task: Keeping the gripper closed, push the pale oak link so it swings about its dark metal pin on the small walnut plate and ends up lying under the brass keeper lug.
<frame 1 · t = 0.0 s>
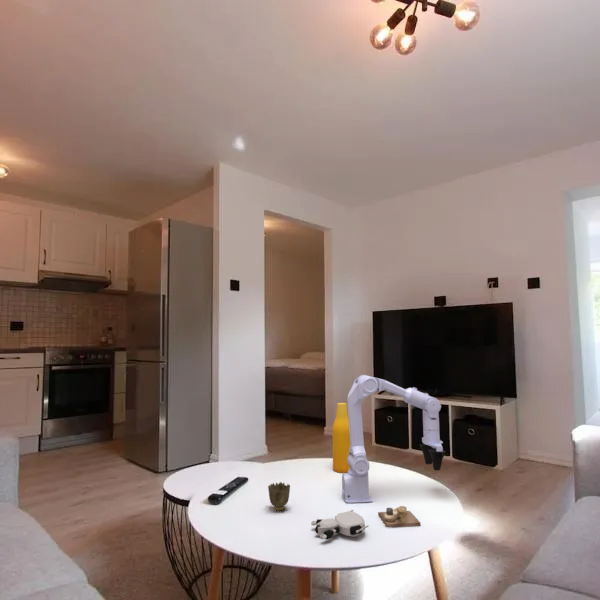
hand: (432, 467, 157), 10 cm above the table, tool pointing down, fingers open, 7 cm apart
robot toy: (339, 535, 125), on the table
link: (396, 513, 135), point 2 cm above the table, hinge at 40.0°
beer bottle: (343, 470, 188), on the table
cup: (279, 510, 144), on the table
board: (398, 520, 134), on the table
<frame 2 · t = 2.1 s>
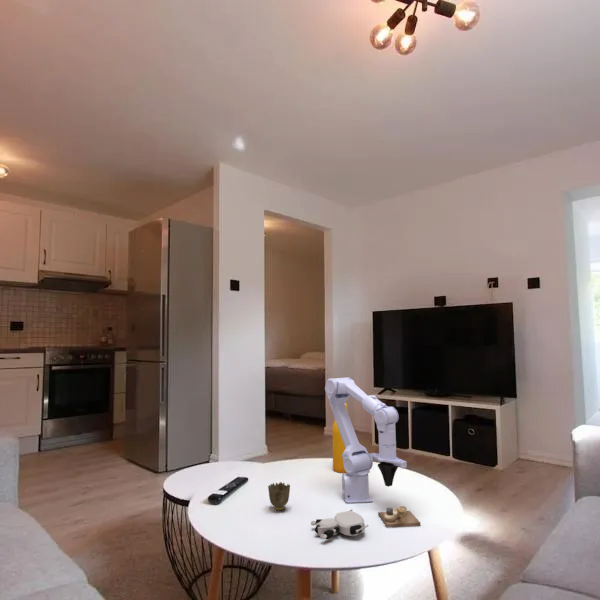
hand: (388, 485, 142), 8 cm above the table, tool pointing down, fingers closed
nothing on the table moved.
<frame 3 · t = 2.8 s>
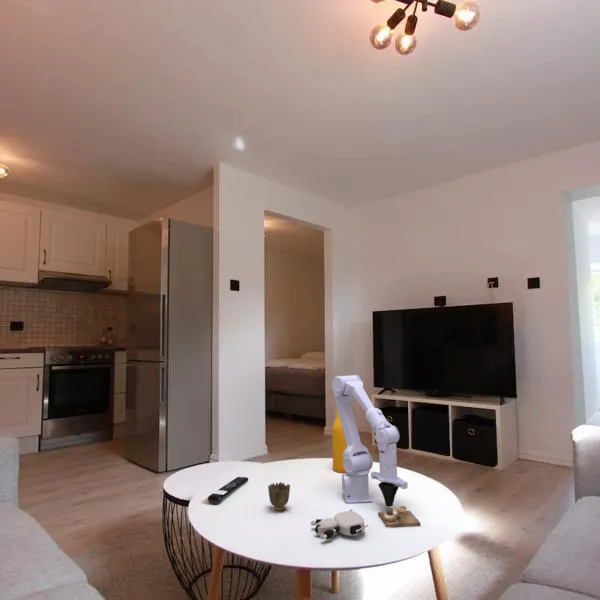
hand: (389, 505, 142), 2 cm above the table, tool pointing down, fingers closed
nothing on the table moved.
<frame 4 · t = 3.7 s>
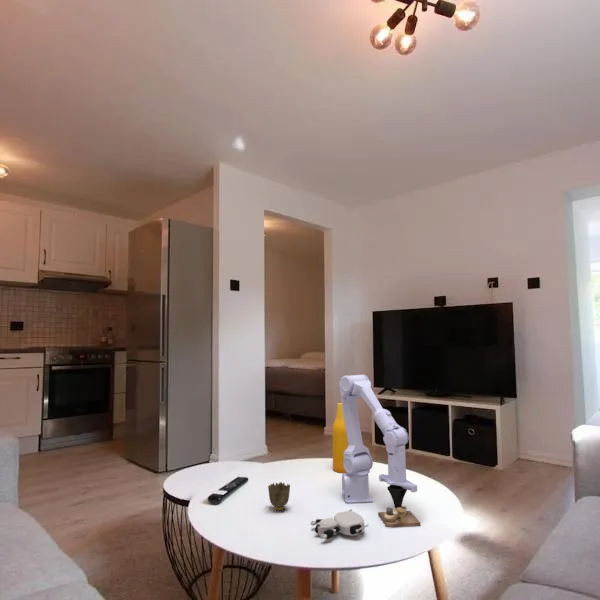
hand: (398, 509, 139), 2 cm above the table, tool pointing down, fingers closed, pressing on link
link: (396, 513, 135), point 2 cm above the table, hinge at 39.9°, touching gripper
everything else where it was.
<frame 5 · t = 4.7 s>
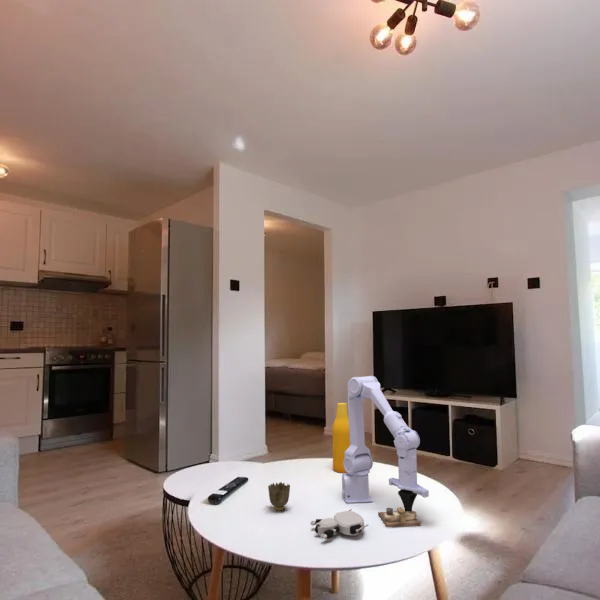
hand: (408, 514, 135), 2 cm above the table, tool pointing down, fingers closed, pressing on link
link: (400, 516, 133), point 2 cm above the table, hinge at 4.7°, touching gripper
everything else where it was.
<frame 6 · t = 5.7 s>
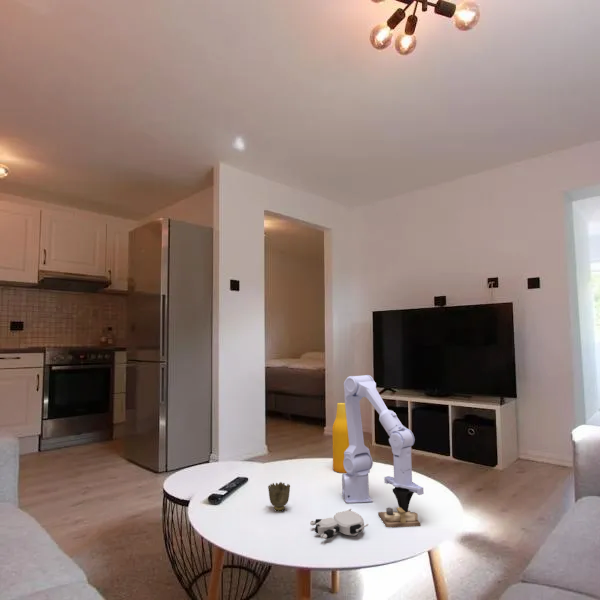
hand: (404, 511, 137), 2 cm above the table, tool pointing down, fingers closed
link: (401, 516, 132), point 2 cm above the table, hinge at -3.1°
everything else where it was.
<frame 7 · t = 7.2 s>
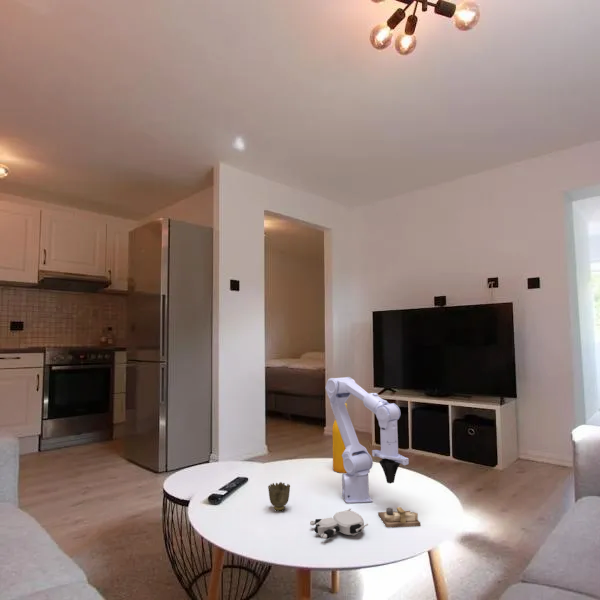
hand: (390, 482, 142), 9 cm above the table, tool pointing down, fingers closed
nothing on the table moved.
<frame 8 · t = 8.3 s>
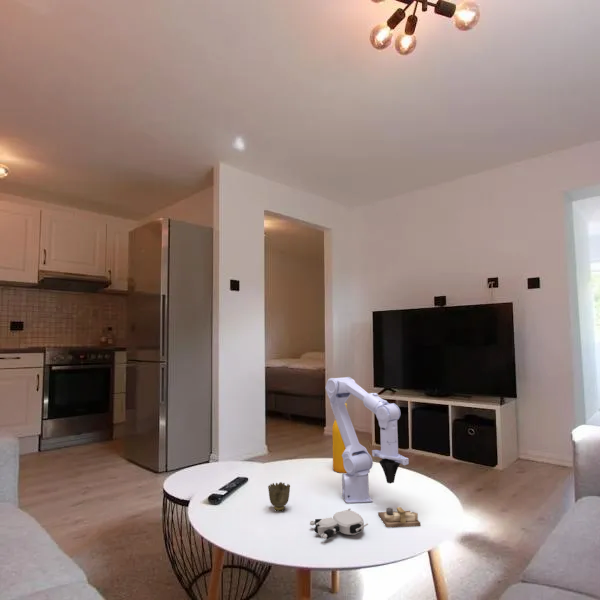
hand: (390, 482, 142), 9 cm above the table, tool pointing down, fingers closed
nothing on the table moved.
at the end: link at -3° (first picture: +40°) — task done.
